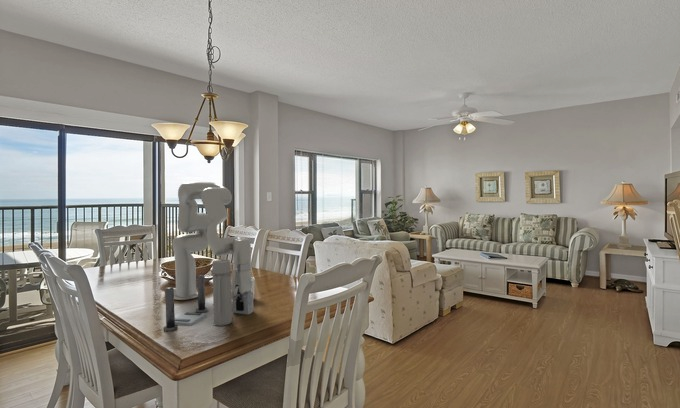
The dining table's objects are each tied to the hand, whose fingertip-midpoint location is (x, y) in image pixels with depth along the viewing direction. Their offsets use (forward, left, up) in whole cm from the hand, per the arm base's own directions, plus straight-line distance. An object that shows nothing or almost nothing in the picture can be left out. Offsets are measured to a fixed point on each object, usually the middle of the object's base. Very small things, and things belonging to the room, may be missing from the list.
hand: (243, 307), depth 156 cm
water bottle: (-2, -14, -2) cm, 15 cm away
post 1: (-19, -22, -2) cm, 30 cm away
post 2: (-19, -1, -2) cm, 19 cm away
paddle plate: (-19, -12, -2) cm, 23 cm away
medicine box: (0, 0, -2) cm, 2 cm away
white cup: (-7, +18, -2) cm, 19 cm away
